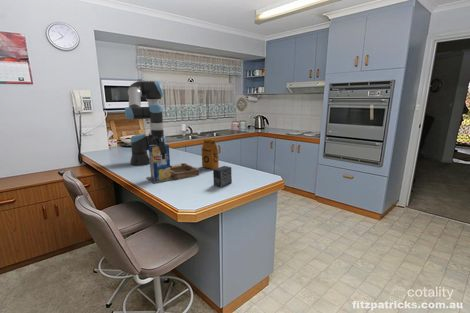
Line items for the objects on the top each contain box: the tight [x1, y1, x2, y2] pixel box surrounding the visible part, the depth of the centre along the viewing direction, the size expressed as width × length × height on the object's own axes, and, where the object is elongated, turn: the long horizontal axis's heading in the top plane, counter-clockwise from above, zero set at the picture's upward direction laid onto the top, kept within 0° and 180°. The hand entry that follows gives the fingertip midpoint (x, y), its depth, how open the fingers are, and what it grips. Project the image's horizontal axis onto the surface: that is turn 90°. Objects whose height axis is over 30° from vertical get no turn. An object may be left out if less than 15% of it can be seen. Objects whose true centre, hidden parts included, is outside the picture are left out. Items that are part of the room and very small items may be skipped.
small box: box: [212, 165, 233, 188], centre depth 154 cm, size 11×6×10 cm, turn 141°
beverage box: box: [148, 143, 171, 181], centre depth 163 cm, size 7×11×22 cm, turn 127°
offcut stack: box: [170, 163, 182, 168], centre depth 183 cm, size 4×10×4 cm, turn 121°
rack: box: [170, 162, 200, 181], centre depth 177 cm, size 22×17×4 cm
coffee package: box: [201, 138, 220, 170], centre depth 190 cm, size 10×12×22 cm
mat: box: [146, 176, 176, 185], centre depth 165 cm, size 14×14×1 cm
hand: (159, 161), depth 163 cm, fingers open, 13 cm apart
